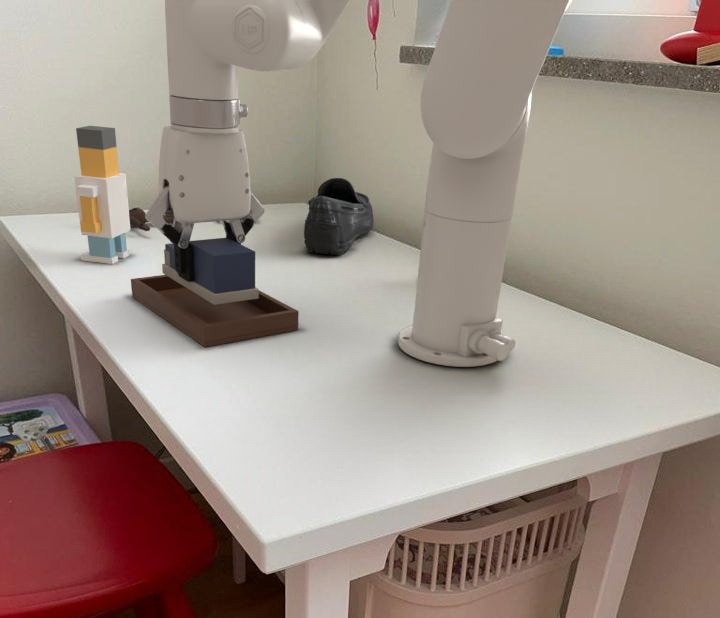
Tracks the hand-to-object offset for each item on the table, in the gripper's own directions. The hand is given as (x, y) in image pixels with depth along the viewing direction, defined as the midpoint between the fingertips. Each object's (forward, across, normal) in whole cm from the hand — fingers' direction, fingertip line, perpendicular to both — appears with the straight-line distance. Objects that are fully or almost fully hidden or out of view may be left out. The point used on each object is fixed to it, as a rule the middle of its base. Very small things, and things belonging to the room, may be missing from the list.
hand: (208, 274), depth 95 cm
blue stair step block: (+1, 0, 0) cm, 1 cm away
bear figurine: (+5, -11, -47) cm, 48 cm away
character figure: (+5, +2, -30) cm, 30 cm away
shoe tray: (+5, 0, 0) cm, 5 cm away
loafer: (+5, -39, -26) cm, 47 cm away
